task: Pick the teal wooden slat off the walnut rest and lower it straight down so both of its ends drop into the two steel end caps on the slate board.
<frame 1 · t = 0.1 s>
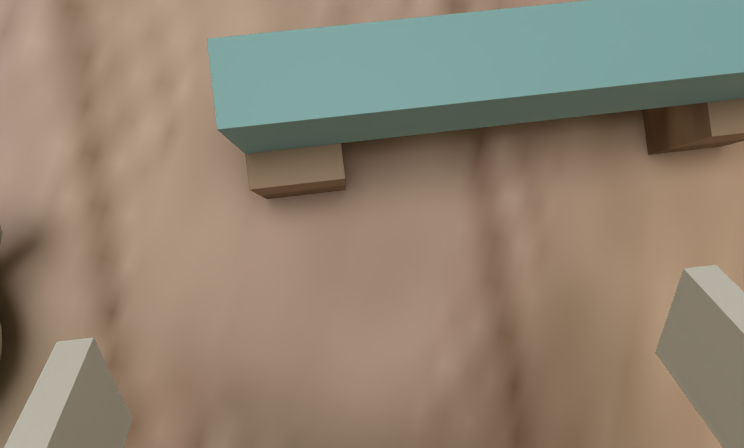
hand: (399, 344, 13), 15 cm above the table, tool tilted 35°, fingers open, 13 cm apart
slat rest: (491, 114, 29), on the table
slat: (522, 87, 24), point 5 cm above the table, touching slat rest
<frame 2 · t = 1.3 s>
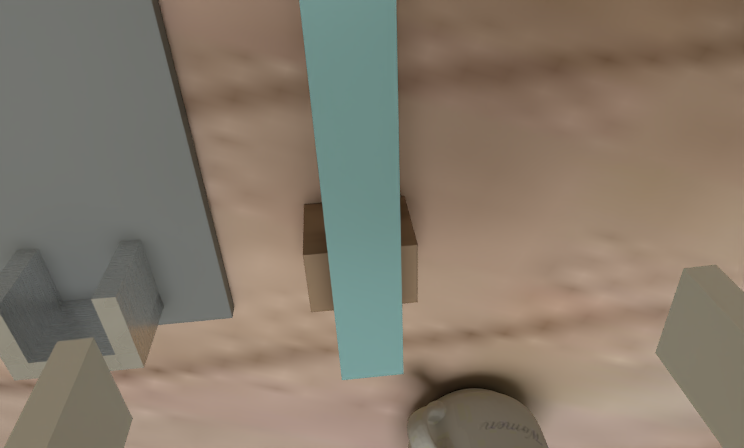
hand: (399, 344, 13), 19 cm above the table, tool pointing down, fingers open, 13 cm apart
teacup: (455, 401, 45), on the table
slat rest: (344, 68, 28), on the table
slat: (350, 104, 24), point 5 cm above the table, touching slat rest
cap board: (25, 91, 28), on the table
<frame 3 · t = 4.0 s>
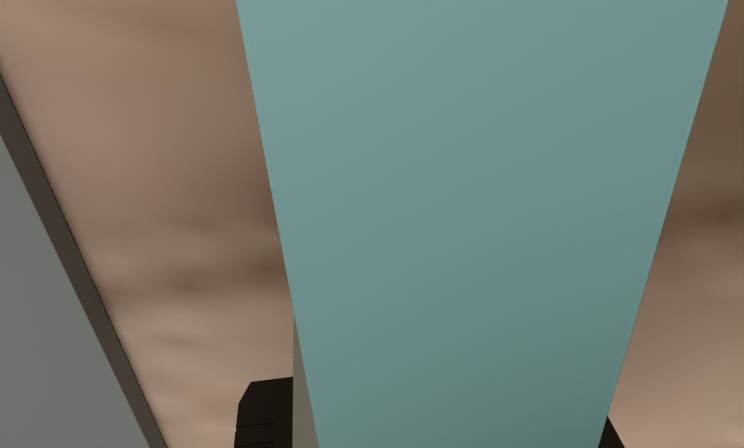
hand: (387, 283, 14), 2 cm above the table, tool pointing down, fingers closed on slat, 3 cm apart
slat: (402, 360, 12), point 5 cm above the table, touching gripper, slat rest
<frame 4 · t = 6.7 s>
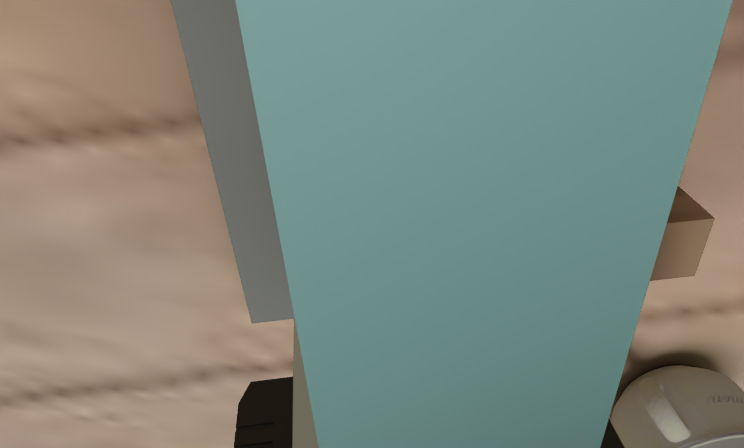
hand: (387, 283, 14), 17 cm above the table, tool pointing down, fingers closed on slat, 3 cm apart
teacup: (651, 379, 45), on the table
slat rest: (646, 47, 29), on the table
slat: (402, 360, 12), point 19 cm above the table, touching gripper
cap board: (345, 74, 28), on the table
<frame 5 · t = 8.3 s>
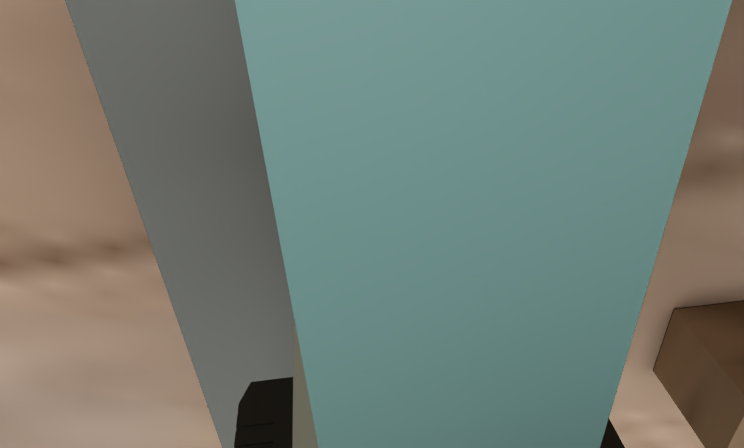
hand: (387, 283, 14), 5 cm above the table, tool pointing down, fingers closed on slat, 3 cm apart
slat: (402, 360, 12), point 8 cm above the table, touching gripper
cap board: (369, 181, 19), on the table
when the fingers open (1 cm above the table, at t = 9.6 s): slat drops 3 cm, resting on cap board.
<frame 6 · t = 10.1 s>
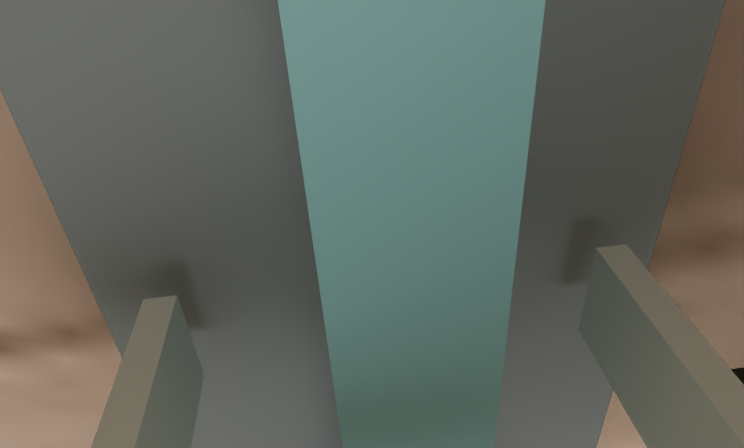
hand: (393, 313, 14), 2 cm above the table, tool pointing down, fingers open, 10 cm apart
slat: (386, 274, 15), point 1 cm above the table, touching cap board
cap board: (380, 253, 16), on the table
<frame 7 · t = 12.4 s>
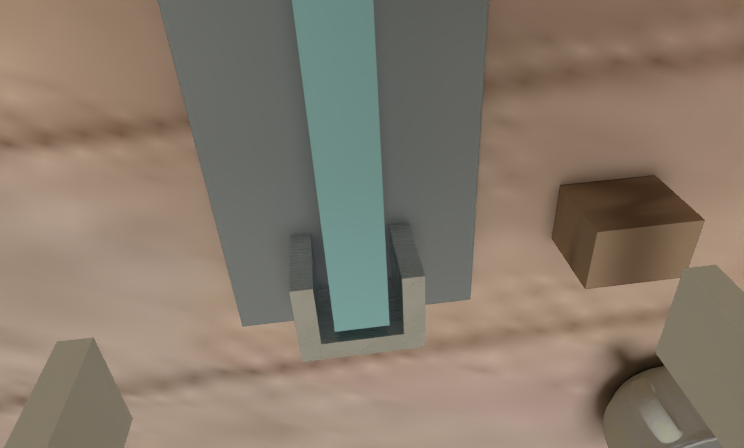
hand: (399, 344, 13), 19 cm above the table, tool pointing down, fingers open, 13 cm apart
teacup: (643, 380, 46), on the table
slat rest: (636, 49, 29), on the table
slat: (336, 83, 27), point 1 cm above the table, touching cap board
cap board: (335, 76, 28), on the table
end caps: (339, 102, 25), on the cap board, point 4 cm above the table
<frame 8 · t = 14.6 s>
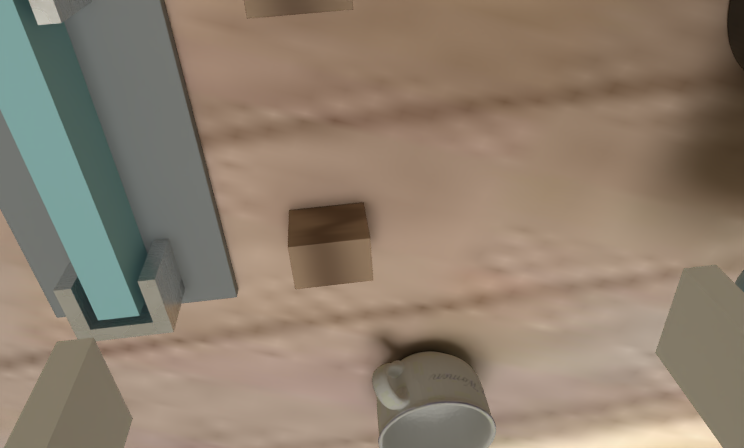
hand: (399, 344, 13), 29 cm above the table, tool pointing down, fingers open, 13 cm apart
teacup: (415, 363, 56), on the table
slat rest: (314, 112, 40), on the table
slat: (83, 140, 38), point 1 cm above the table, touching cap board
cap board: (87, 134, 39), on the table
end caps: (70, 157, 36), on the cap board, point 4 cm above the table
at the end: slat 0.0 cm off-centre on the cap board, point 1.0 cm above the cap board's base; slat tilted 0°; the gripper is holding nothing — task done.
